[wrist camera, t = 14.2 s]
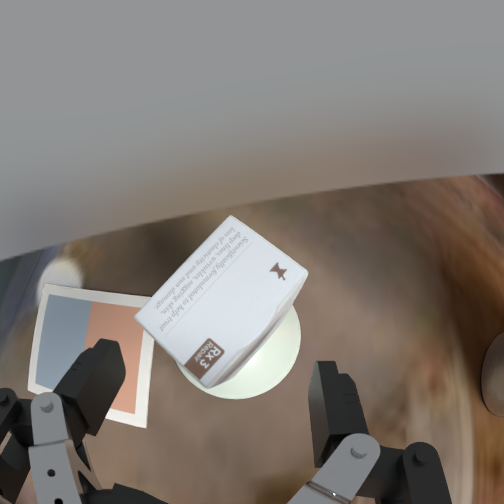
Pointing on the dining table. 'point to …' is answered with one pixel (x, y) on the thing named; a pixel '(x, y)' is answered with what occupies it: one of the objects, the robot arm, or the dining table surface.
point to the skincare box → (223, 303)
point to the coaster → (262, 364)
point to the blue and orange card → (92, 343)
